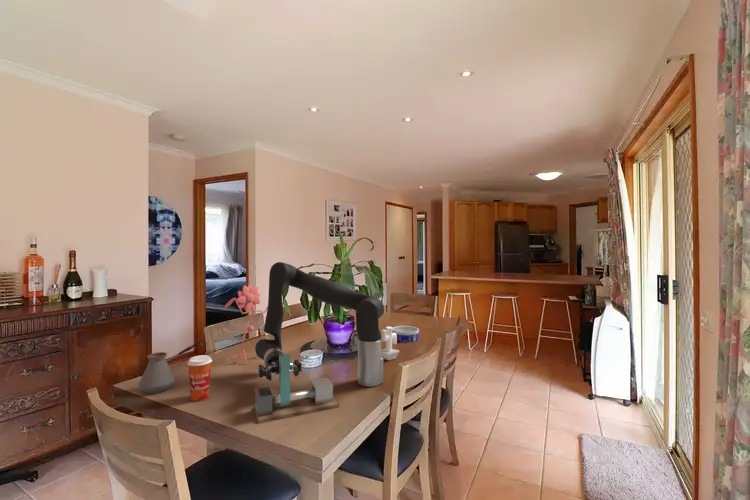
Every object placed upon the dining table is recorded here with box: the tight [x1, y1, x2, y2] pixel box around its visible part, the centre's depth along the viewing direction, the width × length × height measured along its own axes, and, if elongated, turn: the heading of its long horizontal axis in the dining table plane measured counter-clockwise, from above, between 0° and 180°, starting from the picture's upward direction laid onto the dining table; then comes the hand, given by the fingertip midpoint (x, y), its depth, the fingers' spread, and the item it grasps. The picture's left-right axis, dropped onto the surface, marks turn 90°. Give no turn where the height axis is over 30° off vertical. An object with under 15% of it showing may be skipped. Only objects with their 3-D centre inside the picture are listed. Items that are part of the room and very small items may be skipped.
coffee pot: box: [138, 341, 203, 394], centre depth 133 cm, size 21×12×15 cm, turn 133°
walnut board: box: [253, 395, 340, 424], centre depth 116 cm, size 26×11×1 cm, turn 115°
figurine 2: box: [380, 326, 400, 361], centre depth 165 cm, size 7×9×15 cm
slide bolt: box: [272, 352, 315, 406], centre depth 115 cm, size 19×3×16 cm, turn 115°
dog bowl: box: [392, 325, 420, 343], centre depth 199 cm, size 15×15×6 cm
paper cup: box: [187, 354, 213, 402], centre depth 123 cm, size 8×8×14 cm
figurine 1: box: [221, 284, 268, 365], centre depth 164 cm, size 15×26×35 cm, turn 141°
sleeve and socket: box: [254, 377, 334, 418], centre depth 116 cm, size 24×7×6 cm, turn 115°
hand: (283, 375), depth 116 cm, fingers open, 8 cm apart
